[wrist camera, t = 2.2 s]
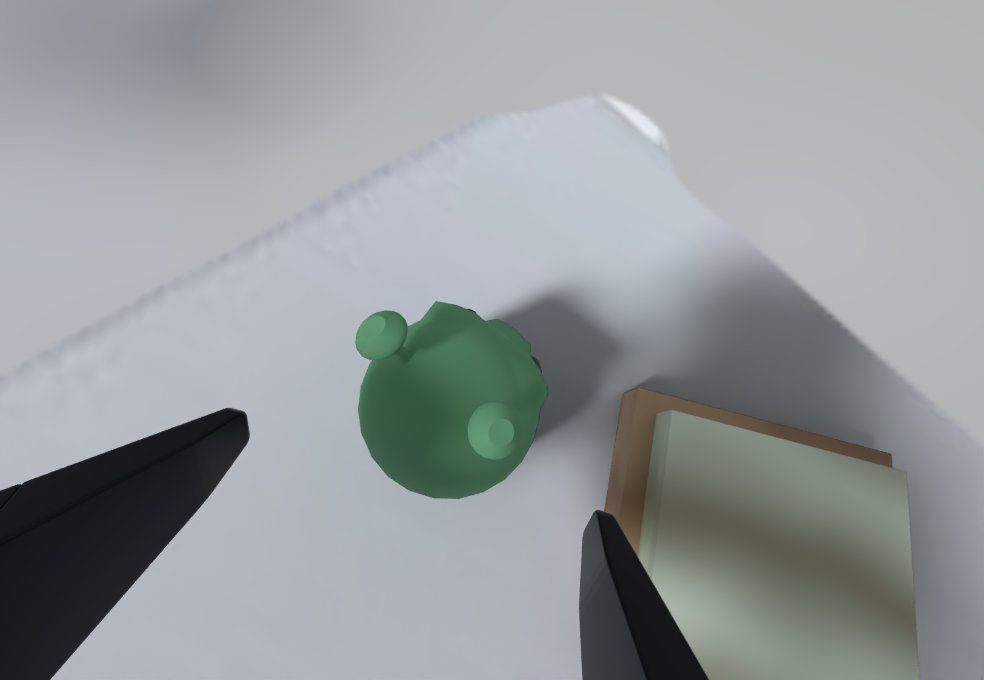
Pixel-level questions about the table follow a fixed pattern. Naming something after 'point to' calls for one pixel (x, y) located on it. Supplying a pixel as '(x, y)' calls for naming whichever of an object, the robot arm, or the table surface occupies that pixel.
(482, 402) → the alien toy
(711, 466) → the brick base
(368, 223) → the table surface
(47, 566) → the robot arm
